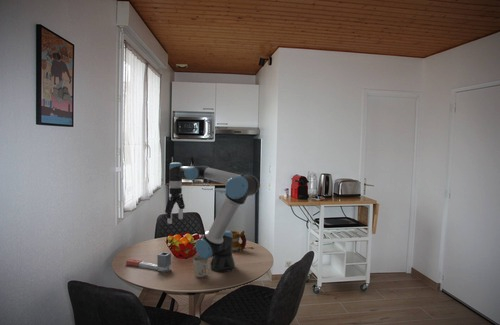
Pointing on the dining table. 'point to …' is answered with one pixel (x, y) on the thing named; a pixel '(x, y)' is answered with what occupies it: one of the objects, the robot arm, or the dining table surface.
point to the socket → (164, 259)
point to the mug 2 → (235, 242)
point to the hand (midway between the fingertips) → (175, 221)
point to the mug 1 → (200, 266)
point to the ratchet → (147, 265)
